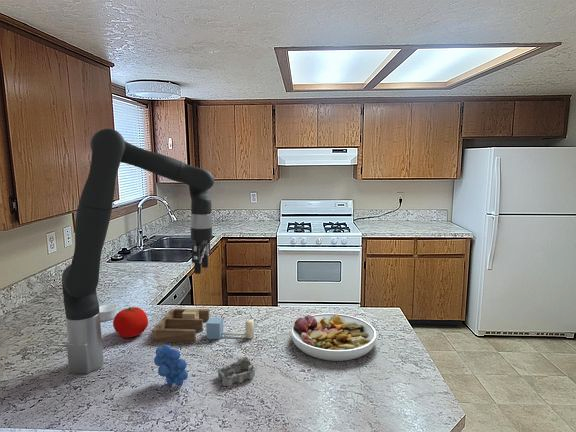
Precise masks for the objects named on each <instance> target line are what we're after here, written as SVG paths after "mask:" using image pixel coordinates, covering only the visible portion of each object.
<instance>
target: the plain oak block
mask: <svg viewBox="0 0 576 432" xmlns="http://www.w3.org/2000/svg"><path fill="white" fill-rule="evenodd" d="M184 309H185V311H184V312H183V313H182V319H199V310H198V309H199V308H184Z"/></svg>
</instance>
